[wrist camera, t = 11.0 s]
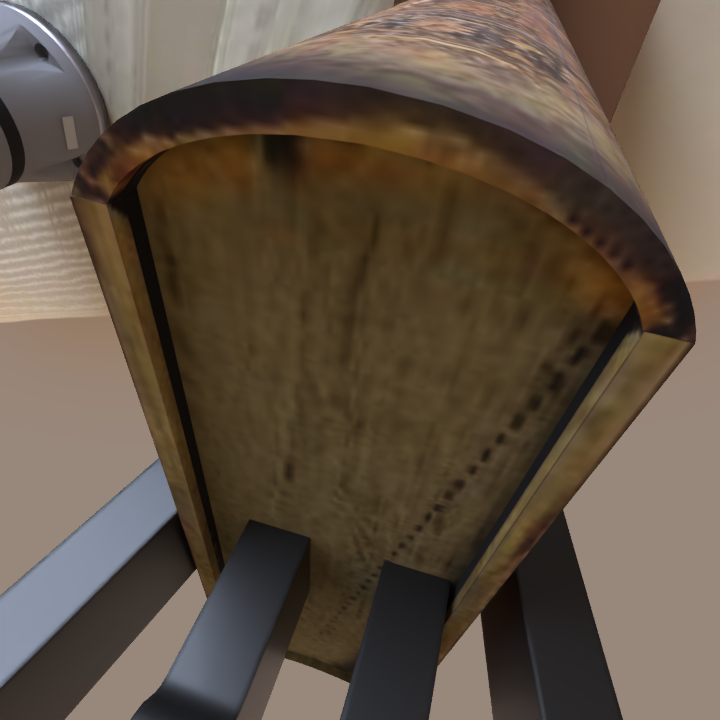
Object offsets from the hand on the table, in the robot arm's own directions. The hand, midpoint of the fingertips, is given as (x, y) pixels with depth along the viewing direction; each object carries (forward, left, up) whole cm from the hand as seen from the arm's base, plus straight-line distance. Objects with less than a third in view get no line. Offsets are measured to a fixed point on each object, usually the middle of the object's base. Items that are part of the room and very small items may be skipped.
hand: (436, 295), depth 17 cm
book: (-1, 0, -14) cm, 14 cm away
